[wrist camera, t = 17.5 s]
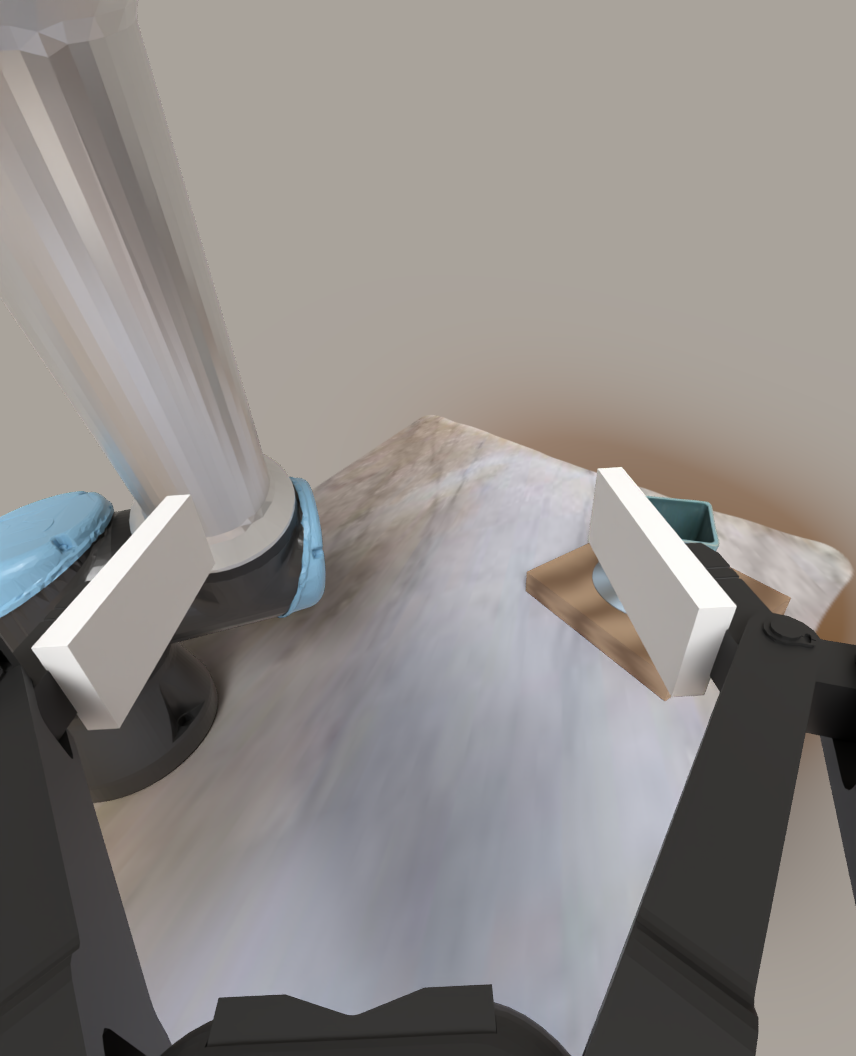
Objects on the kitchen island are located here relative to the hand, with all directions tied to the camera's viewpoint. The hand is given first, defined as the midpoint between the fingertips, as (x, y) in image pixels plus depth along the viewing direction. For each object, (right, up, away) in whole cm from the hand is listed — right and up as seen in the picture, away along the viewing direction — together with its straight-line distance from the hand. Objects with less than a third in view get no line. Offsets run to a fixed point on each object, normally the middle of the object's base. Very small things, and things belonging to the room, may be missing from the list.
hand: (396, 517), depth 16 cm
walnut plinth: (+27, -9, +42) cm, 51 cm away
